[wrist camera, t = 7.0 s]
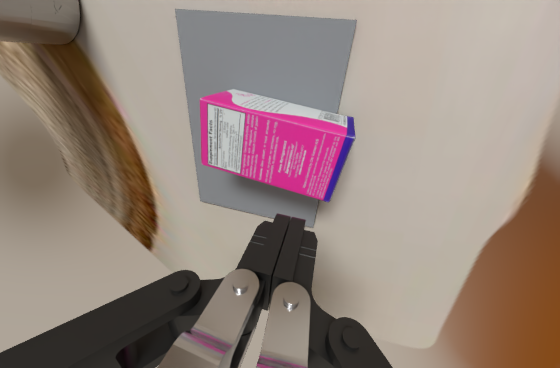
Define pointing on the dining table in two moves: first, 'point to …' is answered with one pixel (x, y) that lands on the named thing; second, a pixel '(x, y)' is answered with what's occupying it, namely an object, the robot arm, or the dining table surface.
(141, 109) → the dining table surface
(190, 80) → the rubber mat
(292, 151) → the supplement box
